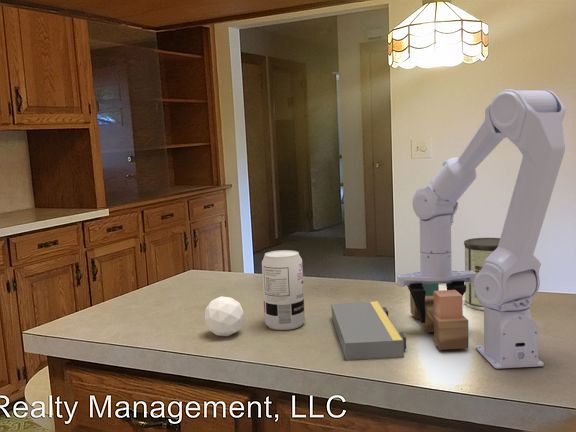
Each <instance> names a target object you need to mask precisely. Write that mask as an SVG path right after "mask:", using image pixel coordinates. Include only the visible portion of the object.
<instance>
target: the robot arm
mask: <svg viewBox="0 0 576 432" xmlns="http://www.w3.org/2000/svg"><path fill="white" fill-rule="evenodd" d="M560 99H561V98H560V97H559V96H558V95H557V94H556V93H555V92H554V91H552V90H549V89H538V90H537V89H536V90H527V89H525V90H516V89H510V88H509V89H507V88H506V89H504V90H501V91H499V92H498V93H497V94H496V95H495V96H494V97H493V98H492V100H491V103H489V105H487V106H486V108H485V110H484V118H483V120H482V122H481V123H480V125H479V126H478V128H477V129H476V131H475V132H474V134H473V136H472V137H471V138H470V139H469V141H468V143H467V145H466V146H465V147H464V149H463V150H462V152H461V153H460V155H459V157H456V156H455V157H451V158H449V159H445V160H444V162H442V168H441V169H440V171H439V172H438V173H437V174H436V176H435V177H434V178H433V179H431V180H430V181H429V185H426V186H425V187H421V188H418V189H417V190H416V191H415V193H414V195H413V199H412V210H413V212H414V214H415V216H416V217H417V218H418V219H419V252H420V253H419V259H420V260H419V261H420V263H419V264H420V271H416V272H415V271H414V272H415V273H414V272H410V273H409V272H408V273H402V274H397V275H396V284H397V286H398V287H400V288H402V287H406V286H407V289H408V291H409V294H410V293H411V295H412V297H413V300H414V302H415V305H416V308H417V312H418V317H419V318H418V321H419V322H420V323H425V294H426V291H425V290H424V287H423V286H422V285H425V284H440V285H441V284H442V285H443V284H445V285H446V290H456V291H457V292H459V293H460V294H461V295H462V296H465V292H466V285H465V282H469V283H474V290H475V293H476V296H477V298H478V299H479V300H480V302H481V305H482V306H484V310H483V344H482V345H480V344H479V345H475V349H476V350H477V352H479V354H481V356H482V357H484V358H485V360H486V361H487V362H488V363H489V364H490V365H491V366H492V367H493V369H497V370H498V369H514V368H515V369H516V368H531V367H532V368H533V367H535V368H536V367H544V365H545V364H544V362H543V361H542V360H541V359H540V358H539V328H538V324H537V323H536V322H535V320H534V319H533V318H532V316H531V304H532V303H533V297H534V296H535V295H537V293H538V292H539V290H540V286H541V281H540V279H541V278H540V269H541V265H542V263H541V262H540V260H539V259H538V258H537V257H536V256H535V254H534V253H535V250H536V246H537V243H538V241H539V238H540V234H541V230H542V227H543V224H544V221H545V217H546V214H547V211H548V208H549V205H550V202H551V198H552V195H553V192H554V188H555V185H556V181H557V178H558V175H559V171H560V168H561V165H562V162H563V159H564V156H565V155H564V154H565V149H566V147H565V138H564V137H565V135H564V128H563V121H564V119H565V118H564V117H565V115H566V111H567V109H566V107H565V106H564V104H563V102H562V101H561V100H560ZM506 138H507V139H508V140H509V141H510V142H511V143H512V144H513V145H514V146H515V147H517V148H518V150H519V151H520V153H521V155H522V159H521V162H520V165H519V170H518V173H517V176H516V181H515V184H514V186H513V187H514V188H513V191H512V194H511V195H512V196H511V198H510V202H509V206H508V210H507V213H506V217H505V220H504V224H503V227H502V231H501V234H500V237H499V238H500V241H499V245H498V247H497V248H496V249H495V250H494V251H493V252H492V253H491V254H490V255H489V256H488V257H487V258H486V259H485V261H484V265H483V267H482V269H481V270H480V271H479V272H478V273H477V275H476V273H475V272H473V271H465V270H452V269H453V268H452V225H453V224H454V217H455V215H456V213H457V210H458V208H459V202H458V200H459V199H460V198H461V197H462V195H464V193H465V192H466V191H467V190H468V189H469V188H470V187H471V186H472V184H473V183H474V181H475V180H476V178H477V170H476V169H477V168H478V166H480V164H481V163H482V162H483V161H484V160H485V159H486V158H487V157H488V156H489V155H490V154H491V153H492V152H493V150H495V149H496V148H497V146H498V145H499V144H501V142H502V141H503V140H504V139H506Z"/></svg>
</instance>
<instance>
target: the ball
mask: <svg viewBox="0 0 576 432" xmlns="http://www.w3.org/2000/svg"><path fill="white" fill-rule="evenodd" d="M244 314H245V313H244V310H243V308H242V305H241V303H240V302H239V301H237V300H236V299H234V298H233V297H230V296H229V297H228V296H221V295H220V296H219V297H217V298H214V299H212V300H211V301H210V302H209V303H208V305H207V307H206V308H205V310H204V322H205V324H206V326H207V328H208V330H209V331H210V332H211V333H213V334H214V335H216V336H220V337H229V336H231V335H233V334H235V333H237V332H238V331H239V330H240V328H241V326H242V325H243V324H244Z"/></svg>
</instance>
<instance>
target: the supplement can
mask: <svg viewBox="0 0 576 432" xmlns="http://www.w3.org/2000/svg"><path fill="white" fill-rule="evenodd" d="M303 270H304V269H303V259H302V257H301V255H300V252H299V251H297V250H289V249H288V250H287V249H283V250H272V251H268V252H265V253H264V256H263V259H262V260H261V272H262V273H261V275H262V292H263V294H262V295H263V309H264V310H263V314H264V315H263V316H264V323H265V325H266V326H267V327H268V328H269V329H271V330H276V331H291V330H295V329H298V328H300V327H302V325H303V324H304V323H305V321H306V320H305V319H306V316H305V295H304V293H305V291H304V271H303Z"/></svg>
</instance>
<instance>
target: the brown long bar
mask: <svg viewBox="0 0 576 432" xmlns="http://www.w3.org/2000/svg"><path fill="white" fill-rule="evenodd" d="M409 296H410V297H409V300H410V303H409V305H410V314H411V315H412V317H413V318H414V319H419V317H418V312H417V308H416V305H415V302H414V300H413V297H412V295H411V293H410V292H409ZM420 323H421V322H420ZM421 328H422V329H423V331H424V332H425V333H433V335H434V336H433V338H434V339H433V341H434V342H433V343H434V344H435V345H436V346H437V348H438V349H439V350H440V351H441V350H443V351H444V350H457V349H458V350H461V349H469V346H470V345H469V319H467V318H466V317H465V316H464V315H463V318H450V319H440V318H439V317H438V316H437V315H436V314H435V313H434V296H425V323H421Z"/></svg>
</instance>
